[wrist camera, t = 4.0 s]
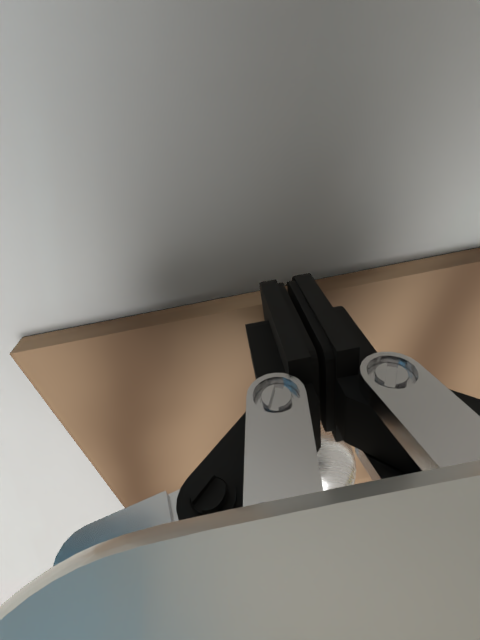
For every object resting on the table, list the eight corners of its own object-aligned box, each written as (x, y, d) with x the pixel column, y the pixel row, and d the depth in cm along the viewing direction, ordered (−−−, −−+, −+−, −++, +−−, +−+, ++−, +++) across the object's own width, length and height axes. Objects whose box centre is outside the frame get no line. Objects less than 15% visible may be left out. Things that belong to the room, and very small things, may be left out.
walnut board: (532, 236, 12) (556, 246, 11) (431, 511, 24) (440, 525, 24) (22, 337, 12) (9, 354, 11) (177, 560, 24) (176, 576, 24)
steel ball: (336, 386, 14) (377, 471, 11) (335, 440, 16) (370, 524, 13) (248, 403, 14) (263, 493, 11) (259, 455, 16) (274, 542, 13)
